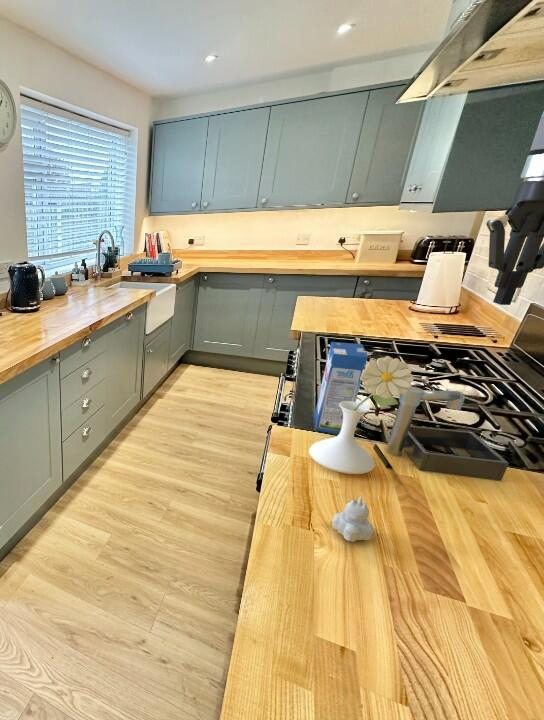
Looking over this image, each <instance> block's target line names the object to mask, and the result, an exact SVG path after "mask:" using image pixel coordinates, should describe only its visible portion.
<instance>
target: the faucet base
mask: <svg viewBox="0 0 544 720" xmlns="http://www.w3.org/2000/svg"><path fill="white" fill-rule="evenodd" d="M417 407H418V406H408V405H404V404H402V403H400V402H399V405H398V409H397V412H396V415H395V419H394V421H393V424H392V428H391V431H390V434H389V437H388V441H387V443H386V446H385V450H384V452H385V453H386V454H388V455H390V456H394V457H400V456H401V455H402V453H403V447H404V444H405V441H406V438H407V435H408V432H409V429H410V426H412V423H413V419H414V416H415V414H416V410H417ZM373 450H374V452H375V453H376V455H377V456H378V458H379V459H380V460H381V462H382V464H383V465H384V467H385V468H386V469H394V467H393V466H392V464H391V463H390V461H389V460H388V459H387V457H386V456H385V455H384V453H383V451H382V450H381V449H380V447H379V446H378V444H377V443H374V445H373Z"/></svg>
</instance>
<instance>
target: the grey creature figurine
mask: <svg viewBox="0 0 544 720" xmlns="http://www.w3.org/2000/svg"><path fill="white" fill-rule="evenodd" d="M369 514H370V510H369V508H368V505H367V503H366V502H363V497H362V496H360V497H358V498H357V499H352V500H351V501H349V502H348V503H346V505H345V508H344V510H342V511H341V512H338V513H336V514H334V516H333V517H332V523H331V526H332V528H333V530H334V531H337V532H338V533H339V534H340V535H341V536H343V538H344V539H345V540H346V541H348V542H351V543H352V542H353V543H354V542H356V541H369V540H371V538H372V537H373V534H374V526H373V524H372V523H371V522H369V519H368V517H369Z"/></svg>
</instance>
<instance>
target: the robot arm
mask: <svg viewBox="0 0 544 720" xmlns="http://www.w3.org/2000/svg"><path fill="white" fill-rule="evenodd" d="M530 146H531V147H530V150H529V152H528V155H527V158H526V161H525V163H524V166H523V168H522V171H521V174H520V179H522V180H523V181H520V182H519V183H517V185H516V188H515V191H514V194H513V197H512V199H511V204H510V206H509V207H508V209H507V210H506V211H505V212H504V214H502V215H501V216H499V217H497V218H495V219H489V220H488V221H486V223H485V225H486V227H487V229H488V231H489V242H488V243H489V245H488V267H489V268H491V269H495V270H497V272H498V273H497V276H496V278H495V282H494V284H493V285H494V288H497V290H496V293H495V296H494V298H493V301H492V303H495V304H497V305H500V306H511V304H512V302H513V299H514V296H515V293H516V292H517V289H521V288H522V287H523V286H524V284H525V282H526V279H527V276H528V274H530V273H532V272H533V271H534V270H541V269H543V268H544V242H543V240H544V111H543V112H542V114H541V117H540V119H539V123H538V126H537V129H536V131H535V135H534V136H533V140H532V142H531V145H530ZM507 224H508V225H509V227H510V232H509V238H508V242H507V244H506V243H505V242H506V227H507ZM505 244H506V246H505Z"/></svg>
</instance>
